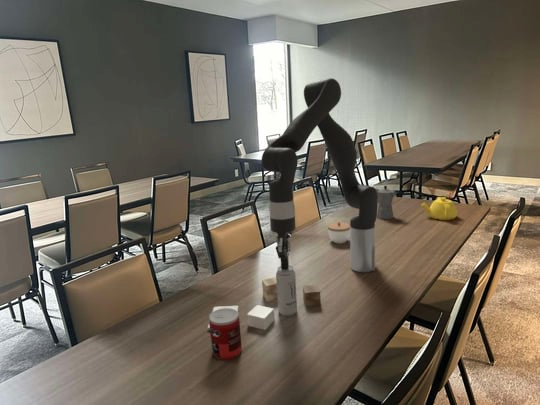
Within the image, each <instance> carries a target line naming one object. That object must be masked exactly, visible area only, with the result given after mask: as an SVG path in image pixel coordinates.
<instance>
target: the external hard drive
mask: <svg viewBox="0 0 540 405" xmlns="http://www.w3.org/2000/svg"><path fill="white" fill-rule="evenodd" d="M223 308H230V309H234V310H236V311H237V312H238V313H239V305H226V306H225V305H222V306H213V309H212V312H214V311H216V310H218V309H223ZM207 332H210V325H209V324H208V325H207Z"/></svg>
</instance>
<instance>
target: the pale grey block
mask: <svg viewBox="0 0 540 405" xmlns="http://www.w3.org/2000/svg"><path fill="white" fill-rule="evenodd" d="M246 316H247V326H248V327H252V328H255V329H260V330H264V331H266V330H268V328H269V327H270V326H271V325H272V324H273V322H274V321H275V319H276V318H275V308H273V307H269V306H268V307H267V306H264V305H259V304H257V305H255V306H254V307H253V308H252V309H251V310H250V311H249V312H248V313H246Z"/></svg>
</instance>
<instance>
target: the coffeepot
mask: <svg viewBox="0 0 540 405" xmlns="http://www.w3.org/2000/svg"><path fill="white" fill-rule="evenodd" d="M375 189H376V191H377V195H378V207H377V218H376V219H379V218H380V220H390V219H393V218H394V212H393V211H394V210H393V206H392V203H393V199H394V197H395V196H396V195H398V194H397V191H395V190H393V189H390V188H388V186H387V185H383V189H379V188H375Z"/></svg>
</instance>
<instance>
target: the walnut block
mask: <svg viewBox="0 0 540 405" xmlns="http://www.w3.org/2000/svg"><path fill="white" fill-rule="evenodd" d="M302 295H303V296H302V297H303V301H304V306H305V308H307V307H315V306H317V307H319V306H321V304H322V303H321V290H320V287H319V285H318V284H309V285H302Z"/></svg>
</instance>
